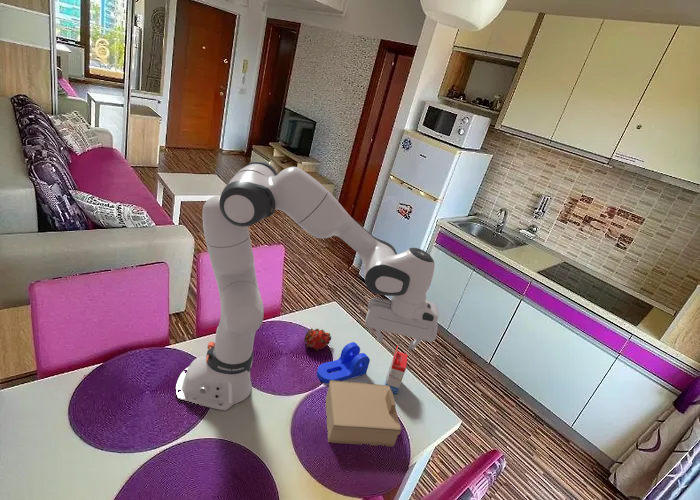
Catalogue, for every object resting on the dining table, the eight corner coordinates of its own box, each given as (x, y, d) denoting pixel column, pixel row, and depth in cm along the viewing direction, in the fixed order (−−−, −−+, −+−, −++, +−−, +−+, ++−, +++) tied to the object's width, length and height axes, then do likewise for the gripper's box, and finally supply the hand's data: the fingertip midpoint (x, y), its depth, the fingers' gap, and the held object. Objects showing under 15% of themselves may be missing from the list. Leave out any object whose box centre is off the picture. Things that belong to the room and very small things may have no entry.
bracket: (353, 359, 153) (358, 340, 149) (365, 374, 147) (371, 355, 143) (312, 370, 143) (317, 350, 139) (324, 386, 137) (329, 366, 133)
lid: (332, 429, 114) (336, 416, 111) (328, 384, 129) (332, 371, 127) (399, 434, 117) (404, 421, 115) (387, 389, 133) (392, 377, 131)
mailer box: (328, 442, 117) (333, 425, 114) (325, 400, 131) (329, 384, 128) (393, 446, 121) (399, 429, 118) (383, 405, 135) (389, 389, 132)
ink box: (397, 395, 141) (408, 362, 135) (383, 390, 141) (394, 357, 135) (399, 379, 148) (410, 347, 143) (386, 375, 149) (397, 343, 143)
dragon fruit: (298, 351, 152) (325, 350, 159) (309, 352, 146) (337, 351, 152) (298, 328, 154) (325, 328, 161) (310, 328, 147) (337, 328, 154)
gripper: (369, 301, 108) (359, 342, 114) (443, 319, 107) (429, 359, 113) (371, 290, 114) (361, 329, 120) (442, 306, 113) (428, 345, 119)
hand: (395, 344), depth 116 cm, fingers open, 8 cm apart
